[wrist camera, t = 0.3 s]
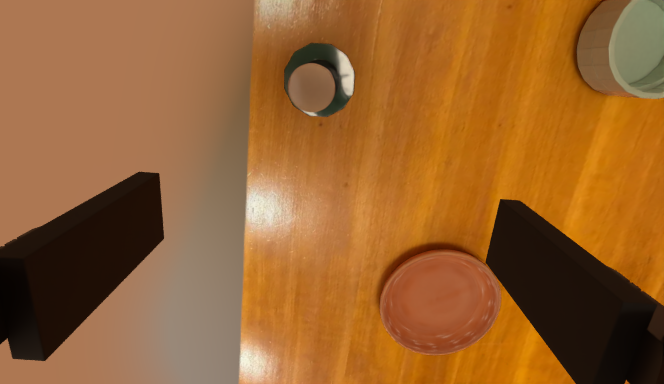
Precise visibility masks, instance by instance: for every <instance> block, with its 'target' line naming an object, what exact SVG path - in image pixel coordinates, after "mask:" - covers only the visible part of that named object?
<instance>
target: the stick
mask: <svg viewBox="0 0 664 384" xmlns="http://www.w3.org/2000/svg"><path fill="white" fill-rule="evenodd" d="M288 93H289V96H290V99H291V100H292V102H293V103H294V105H295V106H297V107H298V108H299V109H301V110H303V111H306V112H318V111H321V110H323V109H325V108H326V107H327V106H328V105H329V104H330V103H331V101H332V100H333V97H334V94H335V82H334V79H333V76H332V74H331V72H330V71H329V70H328V69H327V68H325V67H323V66H321V65H319V64H315V63H308V64H304V65H301V66H299V67H298V68H297V69H295V70H294V72H293V73H292V74H291V76H290V78H289V82H288Z"/></svg>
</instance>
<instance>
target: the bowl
mask: <svg viewBox="0 0 664 384" xmlns="http://www.w3.org/2000/svg"><path fill="white" fill-rule="evenodd" d="M577 61H578V67H579V70H580V72H581V74H582V77H583V79H584V80H585V81H586V82H587V83H588V84H589V85H590V86H591V87H592V88H593V89H594V90H596V91H599V92H601V93H603V94H606V95H613V96H624V97H635V98H650V99H659V98H663V97H664V0H605V1H603V2H602V3H601V4H600V5H599V6H598V7H597V8H596V9H595V11H594V12H593V13H592V14H591V15H590V16H589V18H588V20H587V21H586V23H585V25H584V27H583V29H582V31H581V33H580V37H579V41H578V46H577Z"/></svg>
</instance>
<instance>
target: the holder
mask: <svg viewBox="0 0 664 384" xmlns="http://www.w3.org/2000/svg"><path fill="white" fill-rule="evenodd" d="M308 63H315V64H319V65H321V66H323V67H325V68H327V69H328V70H329V71H330V72H331V74H332V76H333V79H334V82H335V94H334V97H333V100H332V101H331V103H330V104H329V105H328V106H327V107H326V108H325V109H323V110H321V111H318V112H306V111H303V110H301V109H299V108H298V107H297V106H295V105H294V103H293V102H292V100H291V99H290V96H289V93H288V82H289V78H290V76H291V74H292V73H293V72H294V70H295V69H297V68H298V67H299V66H301V65H304V64H308ZM354 83H355V71H354V69H353V67H352V65H351V63H350V61H349V59H348V57H347V55H346V54H345V53H343V52H342V51H340V50H339V49H337V48H336V47H334V46H333V45H332V44H324V43H310V44H308V45H306V46H305V47H303V48H301V49H299V50H297V51H296V52H295V53H294V54H293V55H292V57H291V59H290V61H289V62H288V64H287V66H286V67H285V70H284V89H285V91H286V93H287V95H288V97H289V99H290V101H291V103H292V104H293V106H294V107H296V108H297V109H299V110H301V111H302V112H304V113H305V114H307V115H308V116H319V117H328V116H330V115H332V114H334V113H336V112H338V111H340V110H342V109H343V108H344V107H345V106H346V104H347V102H348V101H349V99H350V98H351V96H352V95H353V93H354Z"/></svg>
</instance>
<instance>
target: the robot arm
mask: <svg viewBox="0 0 664 384" xmlns="http://www.w3.org/2000/svg"><path fill="white" fill-rule="evenodd" d="M163 239H164V231H163V217H162V204H161V191H160V177H159V173H149V172H138V173H136V174H134V175H132V176H131V177H129V178H127V179H125V180H123V181H122V182H120V183H118V184H116V185H115V186H113V187H111V188H109V189H107V190H106V191H104V192H102V193H100V194H98V195H96V196H95V197H93V198H91V199H89V200H88V201H86V202H84V203H82V204H80V205H79V206H77V207H75V208H73V209H71V210H70V211H68V212H66V213H65V214H62V215H61V216H59V217H57V218H55V219H53V220H52V221H50V222H48V223H46V224H45V225H43V226H41V227H37V228H34V229H32V230H30V231H28V232H26V233H25V234H23V235H21V236H19V237H17V239H14V240H12V241H10V242H8V243H6V244H5V246H1V247H0V344H1V343H2V342H4V341H5V340H6V339H7V338H8V342H9V346H10V350H11V354H12V358H13V359H24V360H38V361H45V360H46V359H47V358H48V357H49V356H50V355H51V354H52V353H53V352H54V351H55V350H56V349H57V348H58V347H59V346H60V345H61V344H62V343H63V342H64V341H65V340H66V339H67V338H68V337H69V336H70V335H71V334H72V333H73V332H74V331H75V330H76V328H77V327H79V326H80V324H81V323H82V322H83V321H84V320H85V319H86V318H87V317H88V316H89V315H90V314H91V313H92V312H93V311H94V310H95V309H96V308H97V307H98V306H99V305H100V304H101V303H102V302H103V301H104V300H105V299H106V298H107V297H108V296H109V295H110V294H111V293H112V292H113V291H114V290H115V289H116V287H117V286H118V285H119V284H120V283H121V282H122V281H123V280H124V279H125V278H126V277H127V276H128V275H129V274H130V273H131V272H132V271H133V270H134V269H135V268H136V267H137V266H138V265H139V264H140V263H141V262H142V261H143V260H144V259H145V257H147V256H148V255H149V254H150V252H152V251H153V249H154V248H155V247H156V246H157V245H158V244H159V243H160V242H161V241H162V240H163ZM486 264H487V265H488V266H489V268H490V269H491V270H492V272H493V273H494V274H495V276H496V277H497V278H498V280H499V281H500V282H501V284H502V285H503V286H504V288H505V289H506V290H507V292H508V293H509V294H510V296H511V297H512V298H513V300H514V301H515V302H516V304H517V305H518V306H519V308H520V309H521V311H522V312H523V313H524V315H525V316H526V317H527V319H528V320H529V321H530V323H531V324H532V325H533V327H534V328H535V329H536V331H537V332H538V333H539V335H540V336H541V337H542V339H543V340H544V341H545V343H546V344H547V345H548V347H549V348H550V349H551V351H552V352H553V354H554V355H555V356H556V358H557V359H558V360H559V362H560V363H561V364H562V366H563V367H564V368H565V370H566V371H567V372H568V374H569V375H570V376H571V378H572V379H573V380H574V382H575V383H576V384H624V383H625V381H626V380H627V381H628V382H629V383H630V384H664V306H663V305H661V304H660V303H659V302H657V301H656V300H655V299H653V298H652V297H651V296H649V295H648V294H647V293H645V292H644V291H641V289H640V288H639V287H637V286H636V285H635V284H633V283H630V281H629V280H628V279H627V278H625V277H624V276H623V275H621V274H620V273H619V272H617V271H616V270H614V269H612V268H610V267H608V266H606V265H604V264H603V263H602V262H600V261H599V260H598V259H596V258H595V257H594V256H592V255H591V254H590V253H588V252H587V251H586V250H585V249H583V248H582V247H581V246H579V245H578V244H577V243H575V242H574V241H573V240H571V239H570V238H569V237H567V236H566V235H565V234H563V233H562V232H561V231H559V230H558V229H557V228H555V227H554V226H553V225H551V224H550V223H549V222H548V221H546V220H545V219H544V218H542V217H541V216H540V215H538V214H537V213H536V212H534V211H533V210H532V209H530V208H529V207H528V206H526V205H525V204H524V203H522V202H521V201H518V200H505V199H500V203H499V207H498V211H497V215H496V220H495V224H494V228H493V232H492V237H491V241H490V245H489V249H488V254H487V258H486Z"/></svg>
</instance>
